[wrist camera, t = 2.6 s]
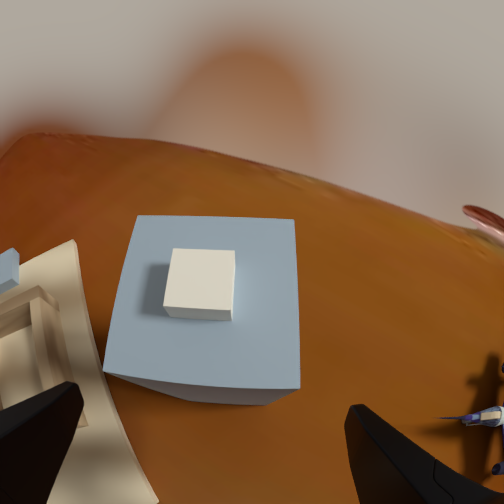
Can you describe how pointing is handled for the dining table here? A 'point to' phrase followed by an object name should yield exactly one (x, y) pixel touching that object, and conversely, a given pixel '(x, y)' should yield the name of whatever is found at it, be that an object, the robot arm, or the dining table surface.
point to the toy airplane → (487, 418)
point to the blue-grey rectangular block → (208, 309)
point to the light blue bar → (9, 270)
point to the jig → (67, 378)
